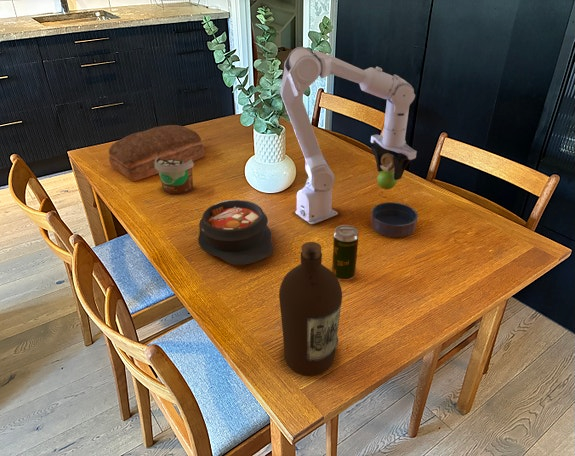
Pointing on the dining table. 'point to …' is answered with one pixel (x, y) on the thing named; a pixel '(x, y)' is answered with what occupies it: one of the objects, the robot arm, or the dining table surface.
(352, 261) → the beer can
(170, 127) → the bread
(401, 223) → the bowl
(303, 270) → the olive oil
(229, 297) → the dining table surface
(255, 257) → the casserole
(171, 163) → the food container
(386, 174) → the snail figurine
